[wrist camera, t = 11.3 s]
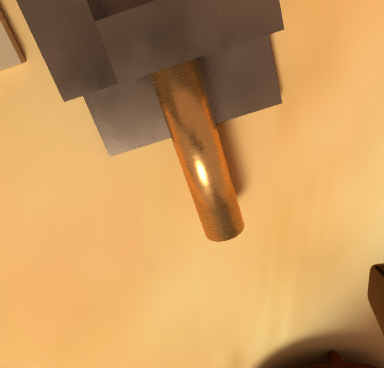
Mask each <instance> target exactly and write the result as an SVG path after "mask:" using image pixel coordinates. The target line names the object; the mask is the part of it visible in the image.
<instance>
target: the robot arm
mask: <svg viewBox="0 0 384 368" xmlns="http://www.w3.org/2000/svg"><path fill="white" fill-rule="evenodd" d="M368 300H369V303H370V305H371V308H372V310H373V312H374V314H375V317H376V319H377V321H378V323H379V326H380V328H381V330H382V332H383V335H384V263H382V264H375V265H373V266H372V267H371V269H370V275H369V284H368Z"/></svg>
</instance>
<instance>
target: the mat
mask: <svg viewBox="0 0 384 368" xmlns="http://www.w3.org/2000/svg"><path fill="white" fill-rule="evenodd" d="M24 62H26V60H25V58H24V56H23V54H22V52H21V50H20V48H19V46H18V44H17V42H16V40H15V38H14V36H13V34H12V32H11V30H10V28H9V26H8V24H7V22H6V20H5V18H4V16H3V14H2V12H1V10H0V71H1V70H4V69H7V68H10V67H13V66H15V65H18V64H21V63H24Z"/></svg>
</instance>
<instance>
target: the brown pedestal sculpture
mask: <svg viewBox="0 0 384 368" xmlns="http://www.w3.org/2000/svg"><path fill="white" fill-rule="evenodd" d="M329 362H330V363H322V364H317V365H312V366H308V367H304V368H378V367H375V366H372V365H368V364H362V363H355V362H345V361H344V360H343V359H342V357H341V356H340V355H339V354H338V353H337V352H335V351H331V352H330V353H329Z"/></svg>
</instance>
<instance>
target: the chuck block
mask: <svg viewBox="0 0 384 368" xmlns="http://www.w3.org/2000/svg"><path fill="white" fill-rule="evenodd" d="M16 1H17V3H18V5H19V7H20V9H21V11H22V13H23V15H24V18H25V20H26V22H27V24H28V26H29V28H30V30H31V32H32V35H33V37H34V39H35V41H36V43H37V45H38V47H39V49H40V52H41V54H42V56H43V58H44V60H45V62H46V64H47V67H48V69H49V71H50V73H51V75H52V77H53V79H54V81H55V84H56V86H57V88H58V90H59V92H60V94H61V96H62V98H63V101H64V102H65V101H68V100H71V99H74V98H78V97H81V96H83V97H84V99H85V102H86V104H87V106H88V108H89V111H90V113H91V115H92V117H93V120H94V122H95V124H96V126H97V129H98V131H99V133H100V135H101V138H102V140H103V142H104V144H105V147H106V149H107V151H108V153H109V156H110V157H111V156H114V155H117V154H120V153H124V152H127V151H130V150H133V149H136V148H140V147H143V146H146V145H149V144H153V143H156V142H159V141H162V140H165V139H169V138H172V141H173V144H174V147H175V150H176V152H177V155H178V158H179V161H180V164H181V167H182V170H183V172H184V175H185V178H186V181H187V184H188V187H189V190H190V192H191V195H192V198H193V201H194V204H195V207H196V209H197V212H198V215H199V218H200V221H201V224H202V227H203V229H204V232H205V235H206V237H207V238H208V239H209V240H212V241H216V242H220V241H227V240H230V239H232V238H234V237H236V236H237V235H239V234H240V233H241V232H242V230H243V229H244V222H243V218H242V215H241V211H240V208H239V204H238V201H237V197H236V194H235V190H234V187H233V183H232V180H231V176H230V173H229V169H228V166H227V162H226V159H225V155H224V152H223V148H222V145H221V141H220V138H219V134H218V131H217V127H216V124H217V123H220V122H223V121H226V120H229V119H233V118H236V117H239V116H242V115H245V114H249V113H252V112H255V111H258V110H262V109H265V108H268V107H271V106H274V105H278V104H281V103H282V100H281V95H280V90H279V85H278V80H277V74H276V69H275V64H274V59H273V54H272V49H271V44H270V38H269V34H272V33H275V32H278V31H281V30H284V25H283V20H282V14H281V8H280V2H279V0H16Z"/></svg>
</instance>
